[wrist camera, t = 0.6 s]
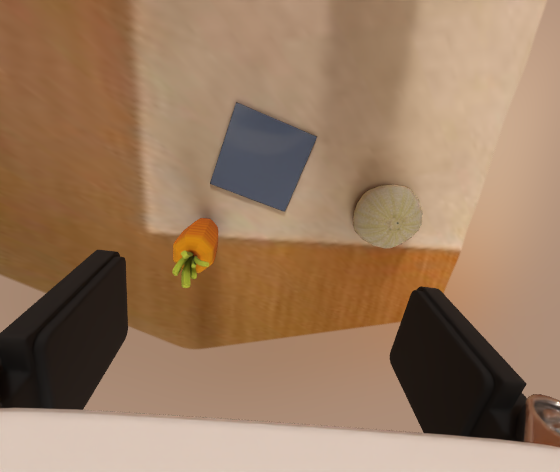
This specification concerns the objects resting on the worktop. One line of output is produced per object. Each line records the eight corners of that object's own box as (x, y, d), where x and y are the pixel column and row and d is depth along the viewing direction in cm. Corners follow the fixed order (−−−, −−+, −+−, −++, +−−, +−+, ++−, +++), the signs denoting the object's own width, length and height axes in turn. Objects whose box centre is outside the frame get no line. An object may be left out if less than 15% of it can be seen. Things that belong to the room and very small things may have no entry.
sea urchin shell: (359, 177, 42) (417, 197, 38) (385, 175, 48) (438, 193, 43) (340, 239, 46) (391, 265, 41) (366, 231, 51) (413, 253, 47)
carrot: (200, 199, 45) (169, 244, 31) (232, 215, 46) (216, 266, 32) (186, 227, 46) (150, 283, 33) (217, 243, 48) (195, 302, 34)
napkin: (236, 102, 40) (236, 102, 40) (316, 136, 42) (317, 136, 41) (210, 183, 44) (209, 183, 44) (284, 210, 46) (284, 211, 45)
